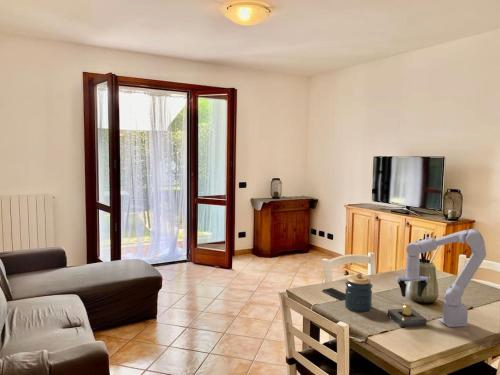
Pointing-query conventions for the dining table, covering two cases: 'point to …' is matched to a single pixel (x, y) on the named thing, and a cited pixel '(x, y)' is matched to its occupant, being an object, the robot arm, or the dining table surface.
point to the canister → (358, 293)
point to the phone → (334, 293)
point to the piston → (406, 310)
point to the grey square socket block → (407, 318)
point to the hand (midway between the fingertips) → (411, 296)
